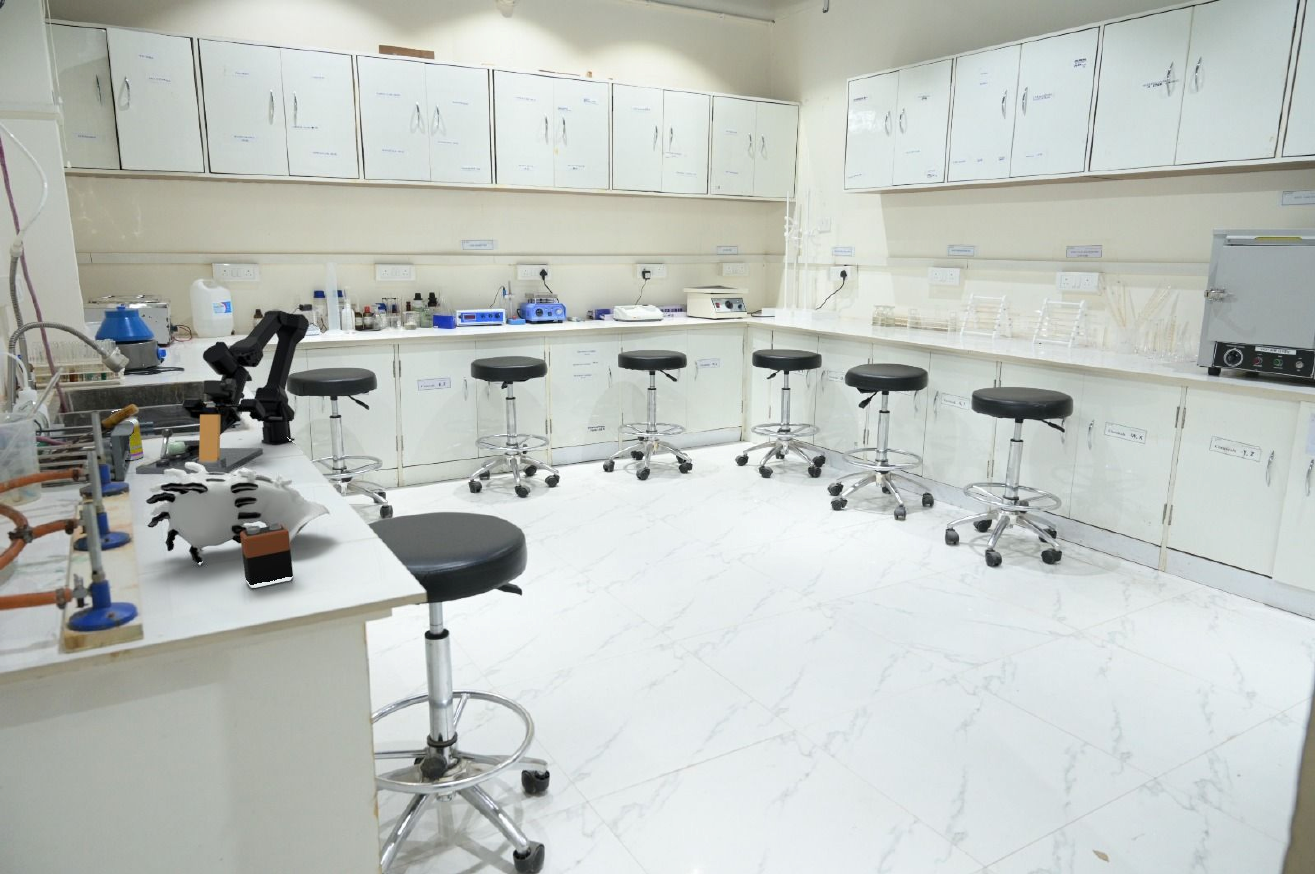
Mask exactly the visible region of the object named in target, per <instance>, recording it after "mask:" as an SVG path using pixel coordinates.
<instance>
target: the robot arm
mask: <svg viewBox="0 0 1315 874" xmlns="http://www.w3.org/2000/svg"><path fill="white" fill-rule="evenodd" d="M263 315H264V316H263V318H262V319H261V320H259V322H258V323H257V324H256V326H255V327H253V329H252V331H250V333H249V334H248V335H247V336H246V337H244V338H242V339H239V340H238V341H236V342H234V343H232V344H231V345H230V346H229V347H228V345H227V344H226V342H225V341H216V342H215V344H214V345H211V346H209V347H208V348H207V349H206V350H204V351H203V353H202V358H203V360H204V362H205V363H207V365H208V366H209V367H210V368H211V369H212V370H213V372H215V374H217V375H219V376H221V379H220V380H218V379H217V380H214V379H213V380H212V379H210V380H208V379H207V380H203V389H202V394H203V395H207V396H208V400H209V401H210V402H209V401H206V403H205V402H204V400H202V398H184V399H183V401H182V404H181V408H182V409H183V410H184V411H185V412H186V414H187V415H188V416H189V417H190V419H193V420H200V415H220V436H221V435H223V434H224V433H225V431H227V430H228V429H229V428H230V427H232V426H233V425H235V424H236V423H237V422H241V421H242V418H241V415H242V414H243V413H249V417H250V418H251V419H252V420H256V421H257V422H262V426H263V427H262V428H261V430H262V439H261V440H260V441H261V443H263V444H270V445H275V446H276V445H281V444H283V443H284V444H285V443H288V442H292V441H293V442H294V441H295V438H293V437H292V434H291V424H290V422H292V421H293V420H295V416H296V415H295V414H296V413H295V411H294V409H293V408H292V407H291V406H290V405H289V398H288V394H287V392H286V386H287V382H288V379H289V377H290V376H289V375H290V370H291V369H292V364H293V359H294V355H295V352H296V348H297V346H298V344H299V343H300V342H301V341H303V340H304V338H305V337H306V335H307V332H308V329H309V327H310V322H309V319H307V317H306V316H305V315H304V314H303V313H290V312H286V311H283V310H267V311H264V314H263ZM275 334H276V336H277V338H278V340H277V344H276V347H275V351H274V355H273V359H272V362H271V366H270V370H269V374H268V376H267V377H268V378H267V381H266V384H265V385H264V386H263V387H261V386H260V387H257V388H256V390H255V395H254V398H245V397H246V395H245V394H244V390H245V386H246V384H247V382H252V381H253V378H252V376H251V373H250V372H249V370H247V369H246V368H256V367H258V366H259V364H260V363H261V361H262V359H263V358H264V351H263V350H264V349H265V347H266V345H268V343H269V342H270V341H271V339H273V337H274V336H275ZM287 437H288V438H289V439H291V441H289V439H288V438H287ZM287 441H288V442H287Z"/></svg>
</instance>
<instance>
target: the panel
mask: <svg viewBox="0 0 1315 874" xmlns="http://www.w3.org/2000/svg"><path fill="white" fill-rule="evenodd" d="M263 454H264V451H263V448H261V447H252V448H251V447H247V448H246V447H220V459H218V460H217V463H218V467H205V470H206V471H207V472H208V473H209V472H222V473H229V472H231V471H233V470H235V469H236V470H237V468H240V467H241V466H244V465H245V464H246V463H249V462H250V461H252V460H254V459H256V458H257V457H260V456H261V455H263ZM198 460H199V445H191V446H185V453H182V454H168V452H166V458H165V459H161V458H160V456H158V457H156V458H153V459H151V460H148V461H146V462H144V463H142V464H140V465H139V466H136V467H135V473H136V474H140V475H141V474H143V475H144V474H148V475H149V474H155V475H156V474H159V475H160V474H161V475H162V474H163V475H165V474H164V470H166V469H172V468H174V469H179V470H184V471H185V472H186V473H187V474H188V475H189V474H190V473H198V472H196V471H194V470H190V469H188V468H186V467H185V463H186V462H194V463H197V461H198Z"/></svg>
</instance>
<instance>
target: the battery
mask: <svg viewBox="0 0 1315 874" xmlns="http://www.w3.org/2000/svg"><path fill="white" fill-rule="evenodd" d="M240 537H241V543H240V545H241V546H240V547H241V553H242V562H243V570H244V579H245V578H246V580H247V581H248V582H249V584H250V585H254V584H257V583H262V582H270V581H273V580H274V581H275V580H277V579H282V578H285V577H292V576H293V577H294V570H293V563H292V561H293V560H292V551H291V541H290V540H289V532H288V530H287V529H286V528H285V527H284V526H283V525H281V524H280V523H273V524H270V526H268V527H267V526H263V527H260V526H259V525H251V526H250V527H247V528H246V531H242V532H241V533H240ZM246 580H245V581H246Z"/></svg>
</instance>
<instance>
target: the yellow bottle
mask: <svg viewBox="0 0 1315 874" xmlns="http://www.w3.org/2000/svg"><path fill="white" fill-rule="evenodd" d="M118 410H121V408H120V409H115V410H111V412H114V411H118ZM126 421H130V422H132V423H133V424H134V433H133V434H132V435H131V437H130V452H131V459H132V460H131V461H134V460H135V461H136V460H139V459H142V457H144V449H143V442H142V435H141V429H140V422H139V421H138V420H137V419H136V418H130V419H129V420H126Z"/></svg>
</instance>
